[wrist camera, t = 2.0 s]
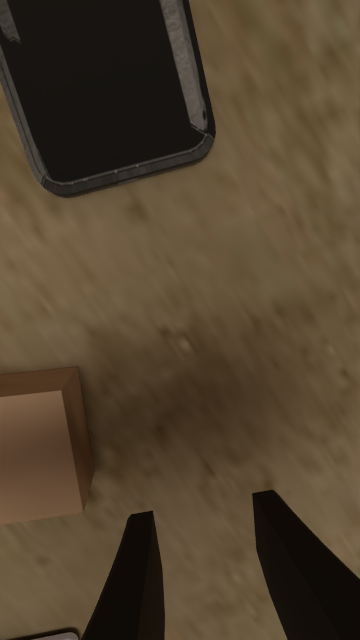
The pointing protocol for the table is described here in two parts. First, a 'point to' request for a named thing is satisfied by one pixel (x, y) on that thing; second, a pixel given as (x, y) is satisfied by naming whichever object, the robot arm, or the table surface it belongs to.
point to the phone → (104, 90)
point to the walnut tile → (43, 446)
